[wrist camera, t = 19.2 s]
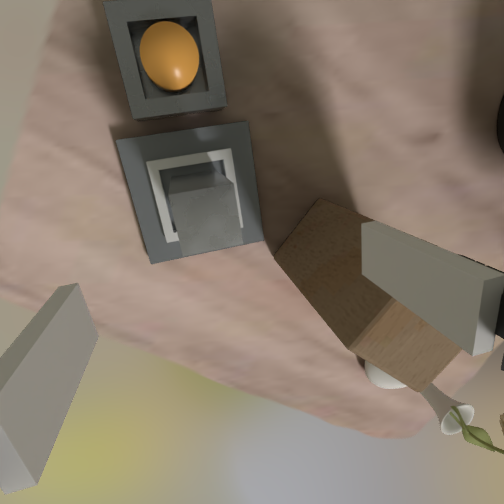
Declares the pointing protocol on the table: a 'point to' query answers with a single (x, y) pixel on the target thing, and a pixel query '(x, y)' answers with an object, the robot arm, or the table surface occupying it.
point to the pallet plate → (181, 163)
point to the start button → (169, 56)
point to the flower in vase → (441, 409)
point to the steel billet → (204, 212)
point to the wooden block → (360, 298)
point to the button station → (133, 73)
